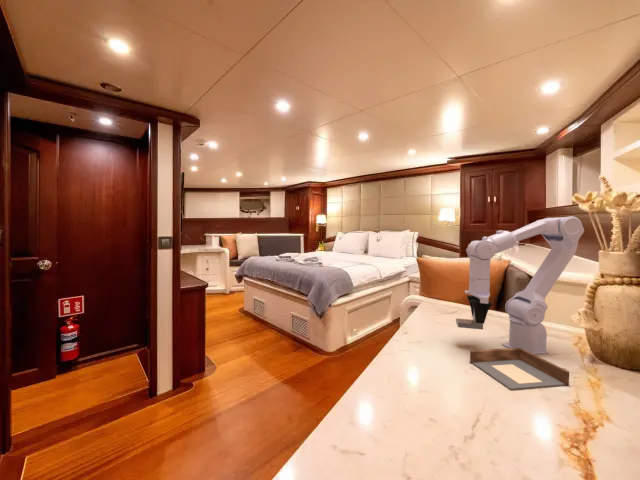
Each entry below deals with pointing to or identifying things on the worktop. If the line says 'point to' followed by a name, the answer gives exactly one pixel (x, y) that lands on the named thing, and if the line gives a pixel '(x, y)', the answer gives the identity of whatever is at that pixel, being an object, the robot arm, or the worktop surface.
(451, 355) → the worktop surface
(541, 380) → the corner mat
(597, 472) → the worktop surface
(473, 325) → the angle bracket
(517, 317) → the robot arm
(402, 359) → the worktop surface
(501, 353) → the corner walls
